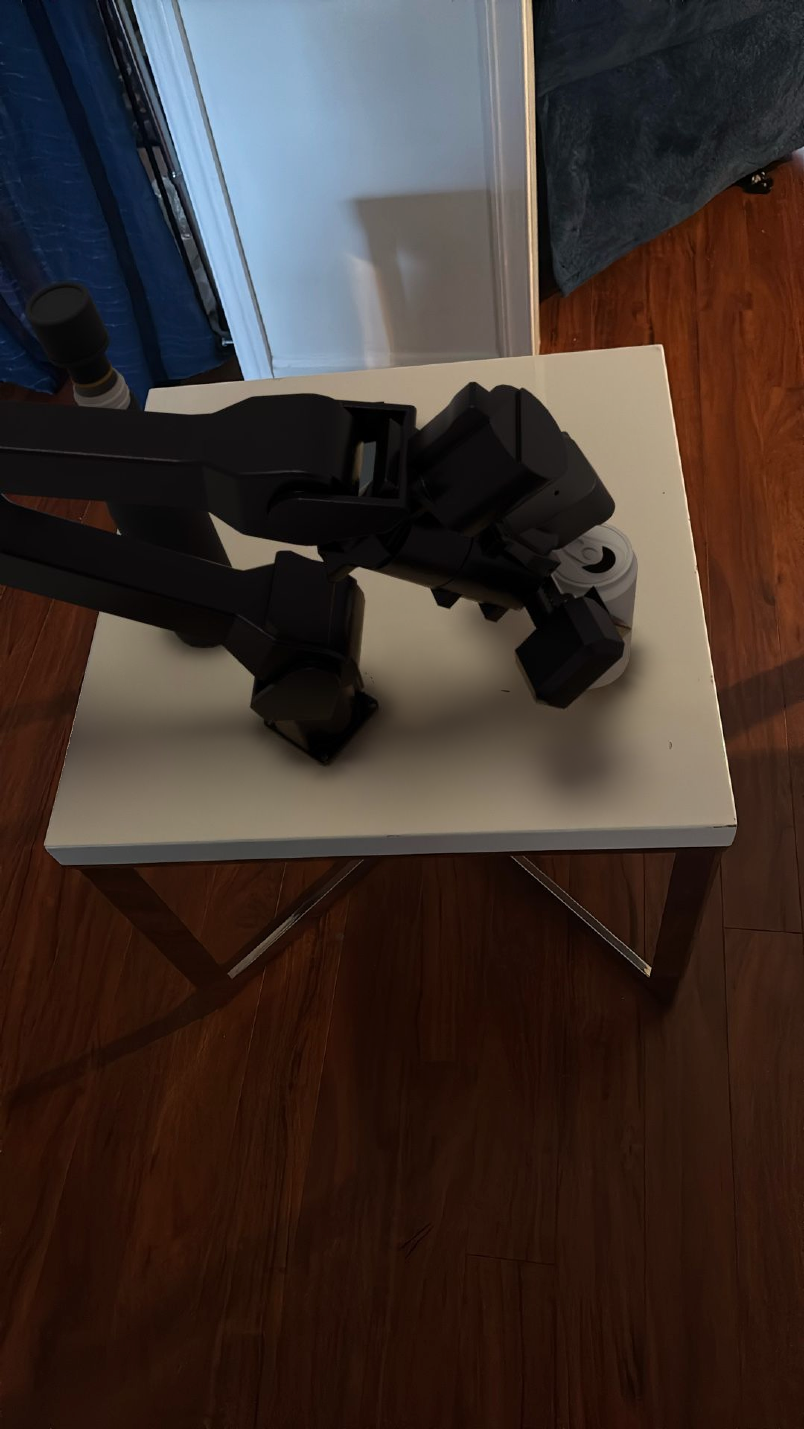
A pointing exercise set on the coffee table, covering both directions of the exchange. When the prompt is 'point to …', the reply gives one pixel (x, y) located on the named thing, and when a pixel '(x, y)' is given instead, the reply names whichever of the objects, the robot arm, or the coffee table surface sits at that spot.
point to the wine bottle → (80, 348)
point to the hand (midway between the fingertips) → (605, 597)
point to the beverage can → (602, 579)
